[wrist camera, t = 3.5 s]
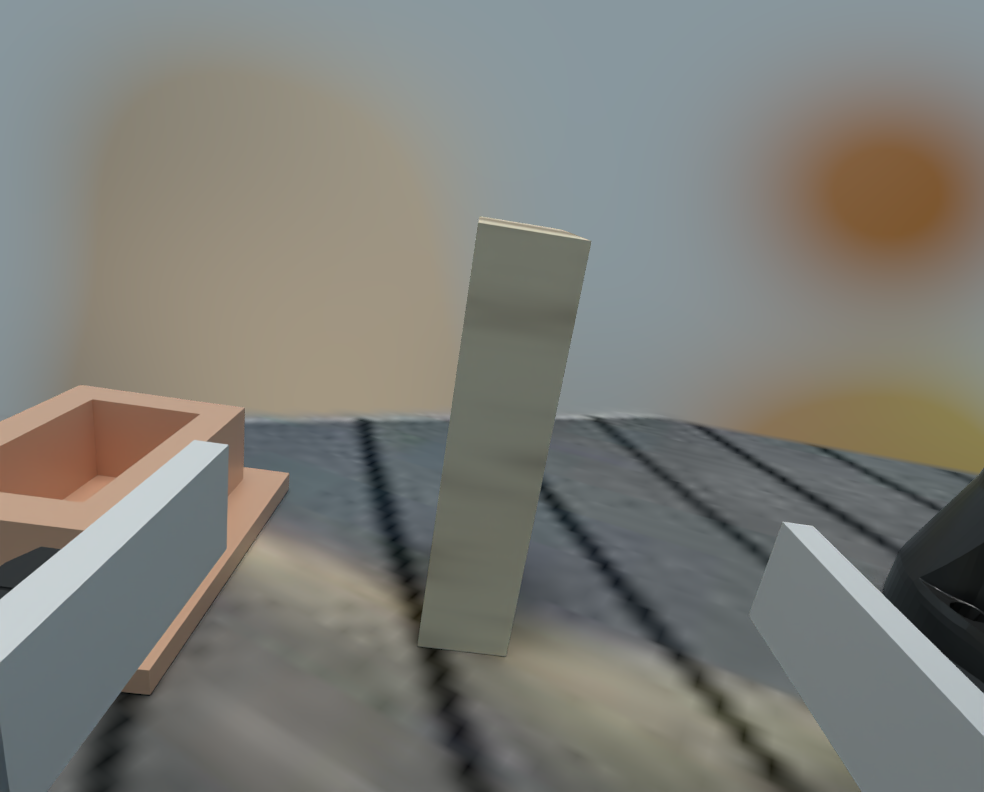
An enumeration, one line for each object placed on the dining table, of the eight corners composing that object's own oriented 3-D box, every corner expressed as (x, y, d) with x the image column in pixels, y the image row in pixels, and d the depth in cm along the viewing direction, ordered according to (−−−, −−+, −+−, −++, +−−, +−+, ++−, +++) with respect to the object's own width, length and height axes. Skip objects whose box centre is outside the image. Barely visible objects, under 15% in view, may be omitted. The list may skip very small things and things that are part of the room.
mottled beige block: (432, 544, 29) (479, 216, 24) (500, 553, 29) (562, 229, 24) (417, 646, 22) (478, 222, 17) (505, 656, 23) (591, 240, 18)
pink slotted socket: (63, 459, 31) (56, 371, 30) (288, 489, 32) (292, 404, 30) (-247, 652, 18) (-291, 511, 16) (150, 695, 19) (144, 564, 17)
